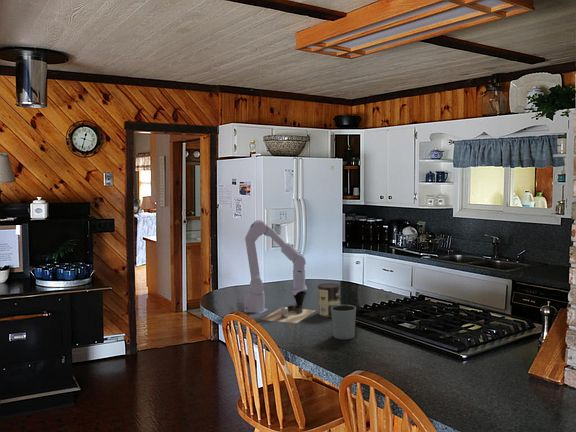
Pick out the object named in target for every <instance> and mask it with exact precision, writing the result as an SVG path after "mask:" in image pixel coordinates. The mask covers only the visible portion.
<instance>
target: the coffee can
mask: <svg viewBox="0 0 576 432" xmlns="http://www.w3.org/2000/svg"><path fill="white" fill-rule="evenodd" d="M340 294H341V293H340V284H338V283H332V282H331V283H330V282H329V283H321V284H317V300H318V301H317V302H318V303H317V304H318V308H317V309H318V315H319V316H322V317H328V318H329V317H330V318H331V319H332V313H331V307H333V306H336V305H341V301H340V300H341V297H340Z"/></svg>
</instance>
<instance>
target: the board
mask: <svg viewBox="0 0 576 432" xmlns="http://www.w3.org/2000/svg"><path fill="white" fill-rule="evenodd" d="M281 308H282V307H280V308H278V309H276V310H275V311H273V312H272V313H270V314H268V315H266V316H264V317H262V318H261V319H260V320H261V321H271V322H280V323H289V324H290V323H292V324H298V323H300V322H301V321H302V320H303V321H304V319H306V318H308V317H309V316H310V315H311V314H313V313H314V312H316V311H317V310H316V309H306V308H304V309H303V312H302V313H301V314H297V311H288V318H281Z"/></svg>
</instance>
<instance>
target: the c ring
mask: <svg viewBox="0 0 576 432" xmlns="http://www.w3.org/2000/svg"><path fill="white" fill-rule="evenodd" d="M284 307H288V311H297V314H301V313H302V312H303V305H302V306H299V305H297V304H290V305H285V306H284Z"/></svg>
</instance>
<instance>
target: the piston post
mask: <svg viewBox="0 0 576 432" xmlns="http://www.w3.org/2000/svg"><path fill="white" fill-rule="evenodd" d="M280 308H281V318H288V307H285V306H282V307H280Z"/></svg>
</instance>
